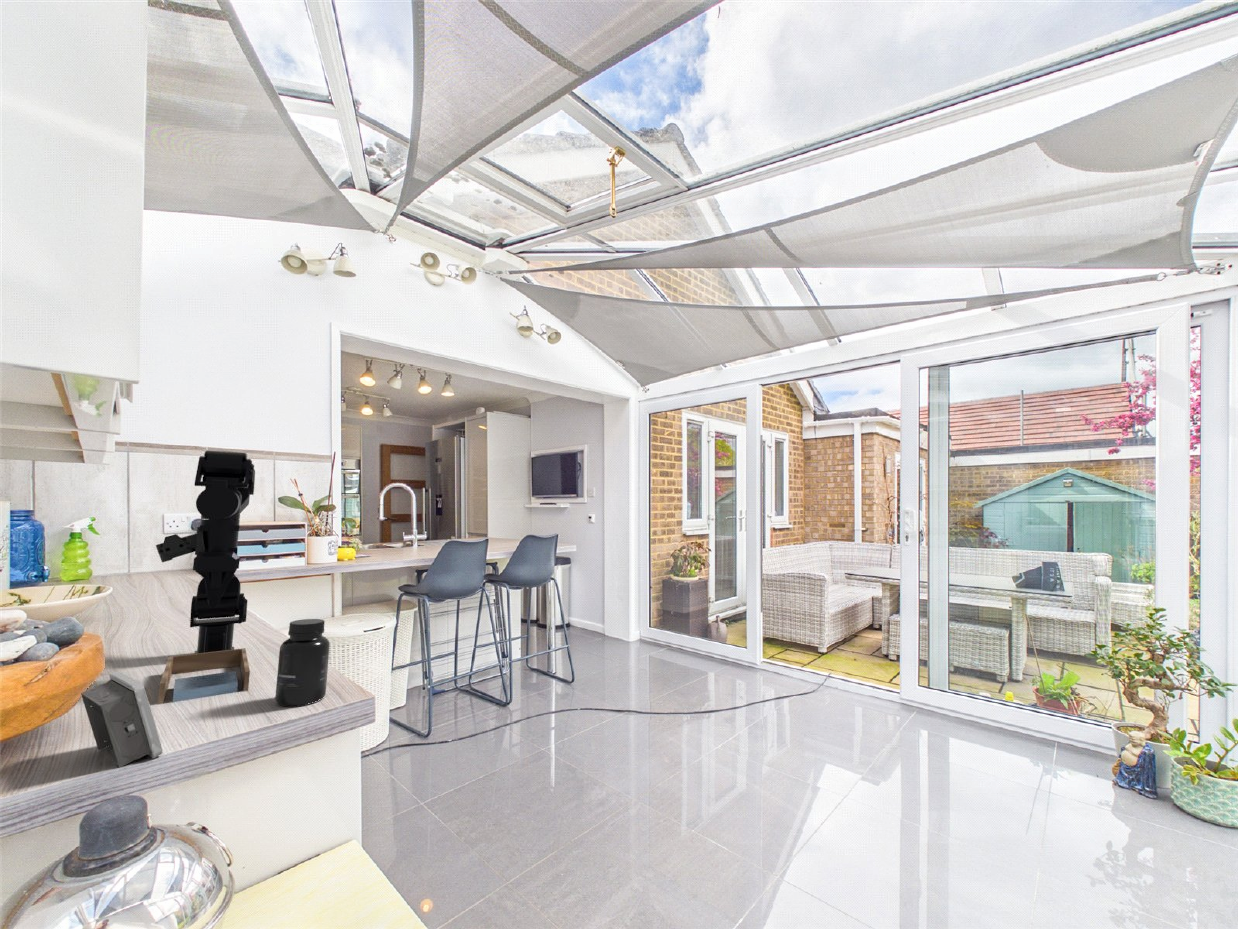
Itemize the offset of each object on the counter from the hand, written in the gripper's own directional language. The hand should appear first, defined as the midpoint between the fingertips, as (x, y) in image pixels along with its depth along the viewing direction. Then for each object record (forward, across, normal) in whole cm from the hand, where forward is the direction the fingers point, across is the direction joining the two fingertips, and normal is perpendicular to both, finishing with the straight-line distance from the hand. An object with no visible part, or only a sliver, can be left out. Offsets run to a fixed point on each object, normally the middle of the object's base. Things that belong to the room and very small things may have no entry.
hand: (212, 606), depth 95 cm
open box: (+12, +4, 0) cm, 13 cm away
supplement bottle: (+12, +24, +12) cm, 29 cm away
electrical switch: (+12, +34, -8) cm, 36 cm away
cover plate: (+12, +10, 0) cm, 16 cm away
